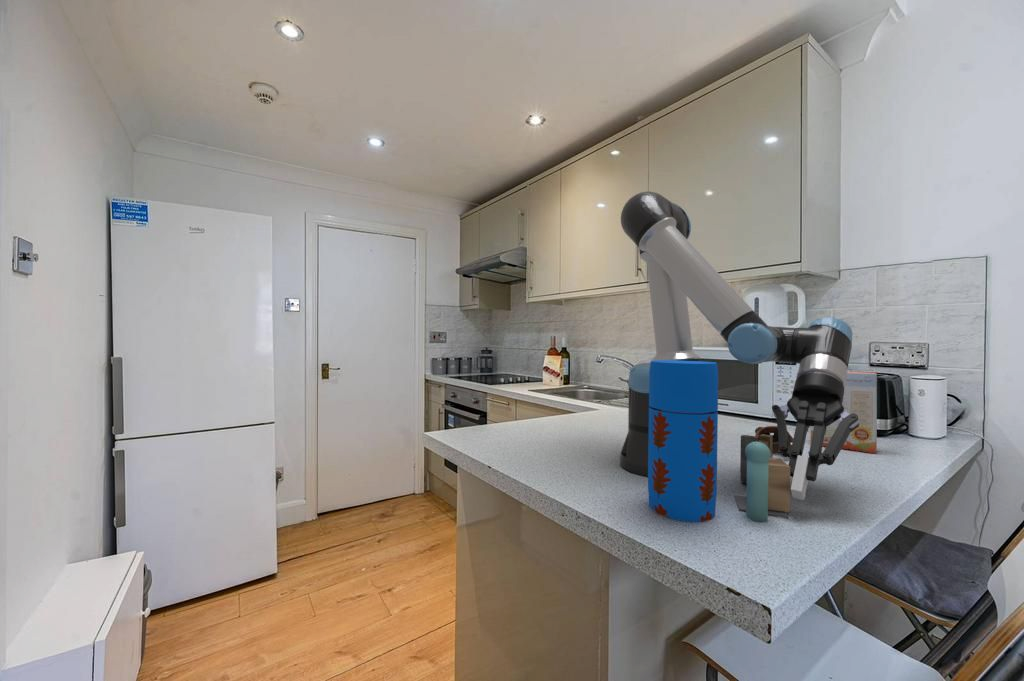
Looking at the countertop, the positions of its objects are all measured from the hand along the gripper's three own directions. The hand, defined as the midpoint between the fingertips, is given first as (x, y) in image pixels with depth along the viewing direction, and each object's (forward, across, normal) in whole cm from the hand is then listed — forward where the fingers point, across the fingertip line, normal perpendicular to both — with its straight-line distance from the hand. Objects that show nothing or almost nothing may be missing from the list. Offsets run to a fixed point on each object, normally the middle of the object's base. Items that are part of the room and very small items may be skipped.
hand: (797, 494), depth 66 cm
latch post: (+6, +5, 0) cm, 7 cm away
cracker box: (-42, +2, -48) cm, 64 cm away
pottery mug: (-26, +14, -33) cm, 44 cm away
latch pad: (+2, +6, -4) cm, 7 cm away
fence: (-11, +11, -17) cm, 23 cm away
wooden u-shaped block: (-2, +7, -7) cm, 10 cm away
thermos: (+10, +15, +4) cm, 18 cm away
